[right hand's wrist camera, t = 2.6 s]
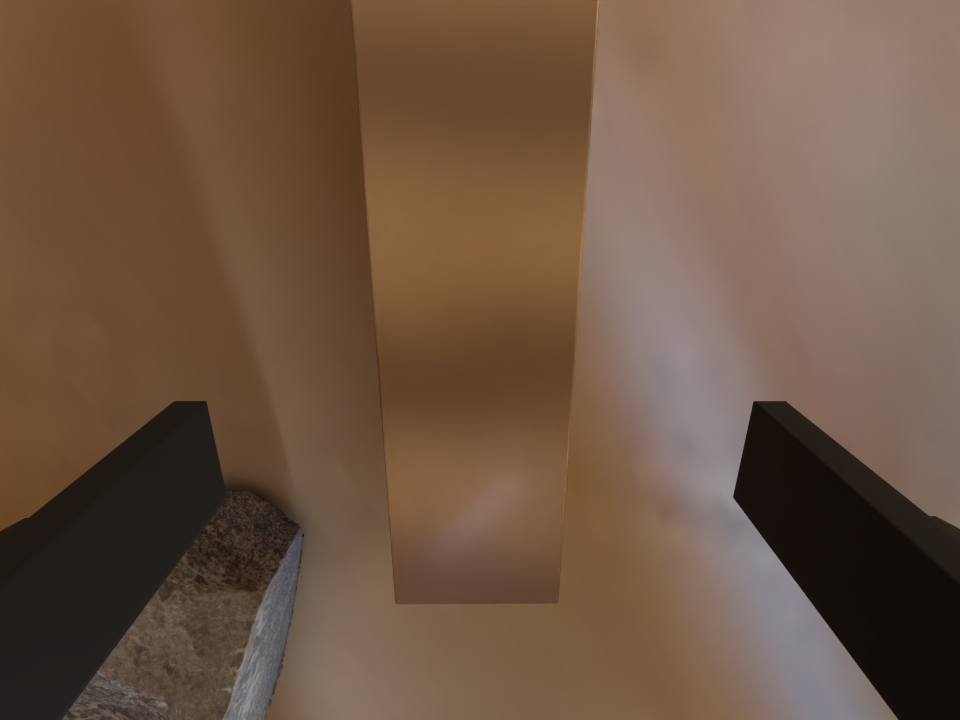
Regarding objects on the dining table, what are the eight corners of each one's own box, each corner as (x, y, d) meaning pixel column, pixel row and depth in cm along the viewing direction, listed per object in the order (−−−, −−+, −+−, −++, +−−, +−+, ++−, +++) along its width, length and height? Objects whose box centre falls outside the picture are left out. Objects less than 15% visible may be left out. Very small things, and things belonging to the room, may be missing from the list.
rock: (274, 715, 27) (211, 877, 20) (101, 682, 26) (-18, 839, 20) (315, 501, 22) (250, 627, 16) (108, 454, 21) (-43, 567, 15)
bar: (530, 455, 22) (558, 604, 14) (422, 455, 22) (394, 605, 14) (562, -355, 13) (668, -997, 6) (386, -356, 13) (274, -1005, 6)
